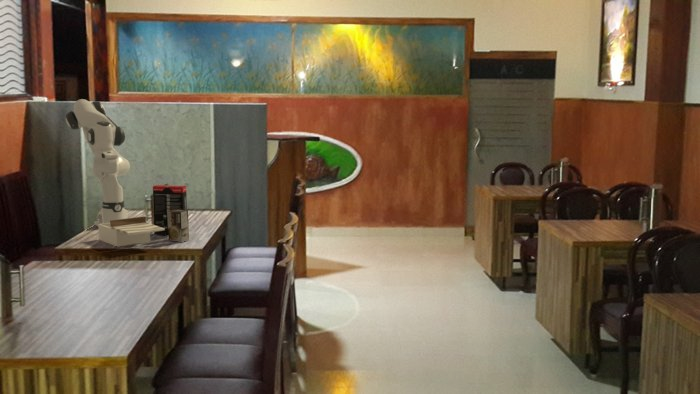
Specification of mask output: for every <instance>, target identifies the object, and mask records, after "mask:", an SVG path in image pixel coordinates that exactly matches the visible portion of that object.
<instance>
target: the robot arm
mask: <svg viewBox="0 0 700 394" xmlns="http://www.w3.org/2000/svg"><path fill="white" fill-rule="evenodd" d="M65 122H66V124H67V126H68V127H69V128H70V129H71V130H75V131H76V130H79V129H80V128H82V132H83V135H84V137H85V140H86V142H87V144H88V146H89V148H90V150H91V152H92V153H93V155H94V156H93V166H92V173H93V175H94V176H95V177H96V178H97V180H98V181H99V183H100V185H101V190H102V200H103V201H102V203H101V205H102V206H101V209H100V210H99V212H98V213H97V214H96V216H95V218H96V221H93V224H94V225H95V226H96V227H98V224H104V223H110V220H118V219H127V218H128V210H127V209H125V200H124V189H123V186H122V185H121V184H119V181H118V177H122V176H124V175H126V174H128V173H129V172H130V169H131V163H130V162H129V161H128V159H127V158H125V157H123V156H122V155H121V154H119V153H118V151H117V150H116V149H115V148H114V147H120V146H121V145H122V144H124V142H125V140H126V134H125V131H124V130H123V128H122V127H120V126H119V125H117V124H116V123H115V122H114V121H113V120H112V119H111V118H110V117H109V116H107V115H106V108H105V106H104V105H103V103H102V102H100V101H99V100H96V101H94V100H93V101H92V102H90V101H89V100H87V99H83V98H81V99H78V100H76V101H75V102H74V104H73V110H70V111H68V112H67V113H66V114H65Z"/></svg>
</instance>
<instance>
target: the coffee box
mask: <svg viewBox="0 0 700 394" xmlns="http://www.w3.org/2000/svg"><path fill="white" fill-rule="evenodd" d="M167 218H168V240H169V241H178V242H177V243H185V242H184V241H186V242H189V241H190V231H189V224H190V223H189V210H188V209H187V210H176V209H174V210H170V211H167ZM188 240H189V241H188Z"/></svg>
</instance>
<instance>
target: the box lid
mask: <svg viewBox="0 0 700 394" xmlns="http://www.w3.org/2000/svg"><path fill="white" fill-rule="evenodd" d="M110 228H111V229H114V230H117V231H120V232H122V233H125V234H128V235H134V234H141V233H148V232H150V233H154V232H156V231H163V230H165V228H162V227H159V226H156V225H154V224H152V223H150V222H147V217H146V216H144V215H143V216H136V217H129V218H127V219H118V220H110Z"/></svg>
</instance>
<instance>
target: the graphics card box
mask: <svg viewBox="0 0 700 394" xmlns="http://www.w3.org/2000/svg"><path fill="white" fill-rule="evenodd" d="M187 201H188V200H187V185H170V184H169V185H167V184H166V185H165V184H160V185H159V184H156V185H152V202H153V225H156V226H159V227H162V228H165V230H163V231H156V232H153V234H154V235H156V236H168V218H167V211H170V210H174V209H176V210H188V209H187V208H188V207H187V206H188V205H187V203H188V202H187Z"/></svg>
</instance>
